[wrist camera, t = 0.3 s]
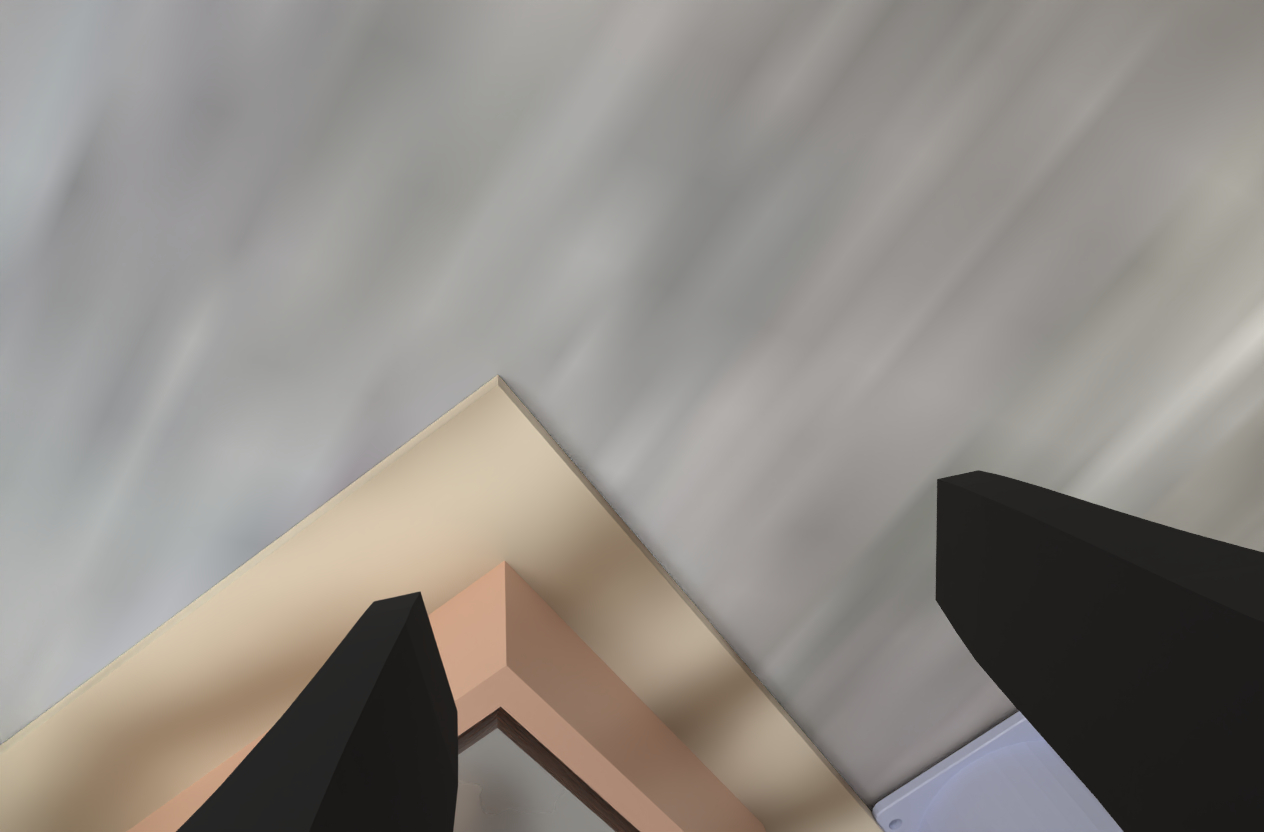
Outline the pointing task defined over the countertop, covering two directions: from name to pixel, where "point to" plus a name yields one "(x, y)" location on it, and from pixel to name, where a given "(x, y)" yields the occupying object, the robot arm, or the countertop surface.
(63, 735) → the serving board
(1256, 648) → the robot arm
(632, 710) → the pink square tray
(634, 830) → the square lid with knob
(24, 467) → the countertop surface
